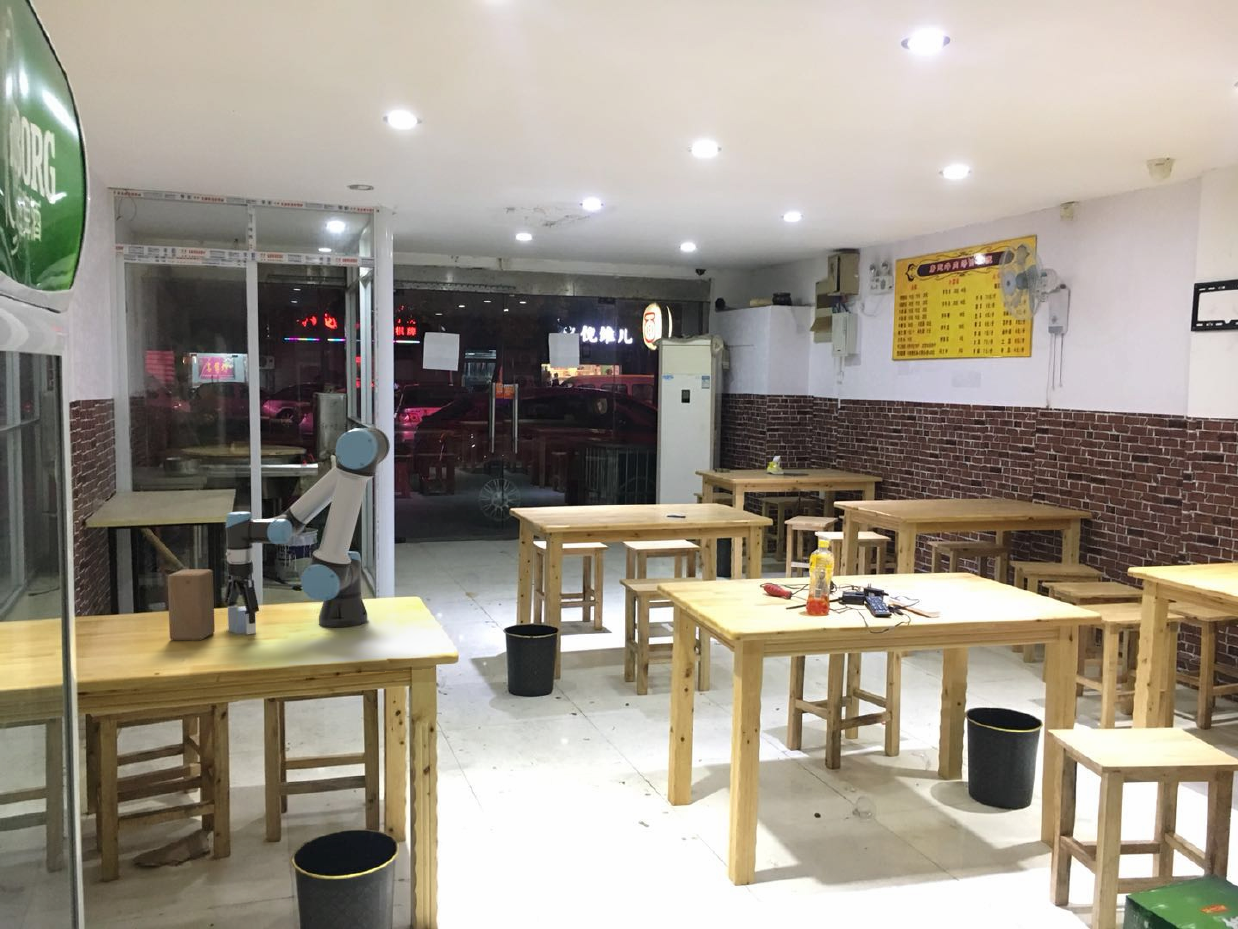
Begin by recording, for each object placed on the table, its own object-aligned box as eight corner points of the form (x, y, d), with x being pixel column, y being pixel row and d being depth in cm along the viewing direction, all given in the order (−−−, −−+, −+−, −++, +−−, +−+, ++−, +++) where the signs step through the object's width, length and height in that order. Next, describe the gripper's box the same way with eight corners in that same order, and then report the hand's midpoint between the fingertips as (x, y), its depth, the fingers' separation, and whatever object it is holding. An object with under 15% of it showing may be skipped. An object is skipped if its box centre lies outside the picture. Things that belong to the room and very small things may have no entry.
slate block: (247, 627, 307) (246, 605, 307) (255, 630, 303) (255, 608, 303) (228, 630, 303) (228, 608, 303) (236, 634, 299) (236, 611, 298)
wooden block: (201, 641, 290) (199, 574, 289) (168, 641, 291) (166, 574, 289) (216, 632, 300) (214, 568, 299) (183, 632, 301) (181, 568, 299)
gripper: (211, 558, 308) (213, 625, 309) (245, 568, 290) (247, 639, 292) (235, 555, 313) (237, 621, 315) (269, 565, 295) (271, 634, 297)
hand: (241, 630), depth 303 cm, fingers open, 12 cm apart
